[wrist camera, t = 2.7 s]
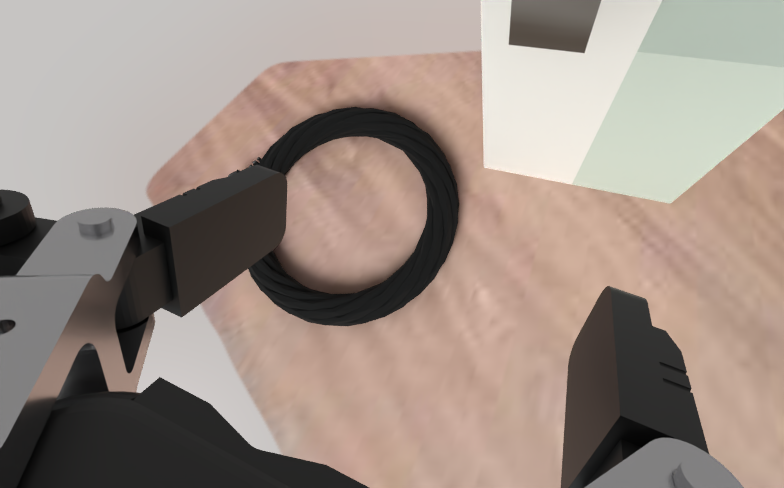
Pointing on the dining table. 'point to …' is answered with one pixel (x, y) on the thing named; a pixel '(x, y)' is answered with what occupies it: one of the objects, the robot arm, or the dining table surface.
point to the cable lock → (428, 249)
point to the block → (552, 23)
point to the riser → (633, 94)
